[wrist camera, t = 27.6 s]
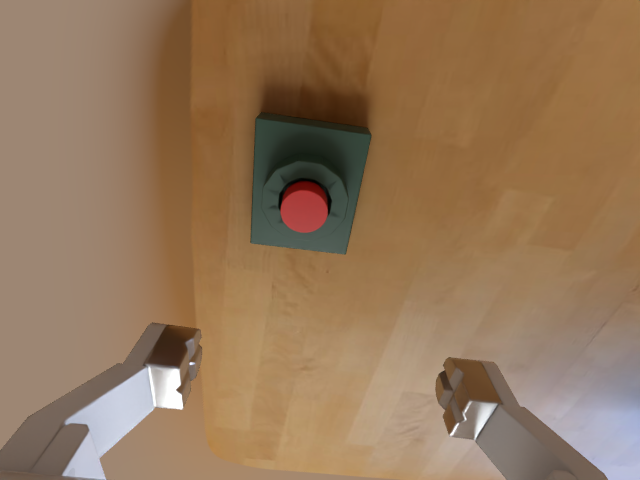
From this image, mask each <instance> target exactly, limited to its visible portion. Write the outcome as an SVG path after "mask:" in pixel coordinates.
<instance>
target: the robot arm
mask: <svg viewBox="0 0 640 480" xmlns="http://www.w3.org/2000/svg"><path fill="white" fill-rule="evenodd" d="M201 338H202V337H201V330H200V329H196V328H189V327H181V326H175V325H166V324H159V323H151V324H150V325H149V326H148V327H147V328H146V330H145V331H144V333H143V334H142V336H141V337H140V339H139V340H138V342H137V343H136V345H135V346H134V348H133V349H132V351H131V352H130V354H129V356H128V357H127V358H126V360H125V361H124V363H123V364H120V363H118V364H116V365H114V366H113V367H111V368H109V369H108V370H106V371H104V372H103V373H101V374H99V375H98V376H96V377H94V378H93V379H91V380H89V381H87V382H86V383H84V384H82V385H81V386H79V387H77V388H76V389H74V390H72V391H71V392H69V393H67V394H66V395H64V396H62V397H61V398H59V399H57V400H56V401H54V402H52V403H51V404H49V405H47V406H46V407H44V408H42V409H41V410H39V411H37V412H36V413H34V414H32V415H30V416H29V417H28V418H27V419H26V420H25V422H23V424H22V425H21V426H20V427H19V429H18V430H17V431H16V432H15V434H14V435H13V436H12V437H11V438H10V439H9V441H8V442H7V443H6V444H5V445H4V447H3V448H2V449H1V450H0V480H106V478H105V475H104V472H103V469H102V466H101V463H100V460H99V458H100V457H101V456H102V455H103V454H105V452H107V451H108V450H109V449H110V448H111V447H112V446H113V445H115V444H116V443H117V442H118V441H119V440H120V439H121V438H122V437H124V436H125V435H126V434H127V433H128V432H129V431H130V430H131V429H132V428H134V427H135V426H136V425H137V424H138V423H139V422H140V421H141V420H142V419H144V418H145V417H146V416H147V415H148V414H149V413H150V412H151V411H153V410H154V407H156V408H170V409H183V408H184V405H185V403H186V401H187V398H188V396H189V393H190V391H191V383H190V381H192V380H193V379H194V378H196V376H197V373H198V371H199V368H200V364H201V359H202V347H201V346H200V345H199V342H200V340H201ZM443 366H444V369H445V370H444V371H443V372H441V373H440V374H439V375H438V377H437V380H436V387H435V390H436V397H437V400H438V403H439V404H440V405H441V406H442V407H443V408H444V409H445V412H444V414H443V419H444V422H445V425H446V428H447V431H448V434H449V437H457V438H465V439H472V440H476V441H475V442H476V443H477V444H478V445H479V447H480V448H481V449H482V450H483V451H484V453H485V454H486V455H487V456H488V458H489V459H490V460H491V461H492V462H493V464H494V465H495V466H496V467H497V469H498V470H499V471H500V472H501V473H502V475H503V476H504V477H505V478H506V479H507V480H608V479H607V477H606V476H605V474H604V473H603V472H601V471H600V470H599V469H598V468H597V467H595V466H594V465H593V464H592V463H591V462H589V461H588V460H587V459H586V458H585V457H583V456H582V455H581V454H580V453H579V452H578V451H576V450H575V449H574V448H573V447H572V446H570V445H569V444H568V443H567V442H566V441H564V440H563V439H562V438H561V437H560V436H558V435H557V434H556V433H555V432H554V431H552V430H551V429H550V428H549V427H548V426H546V425H545V424H544V423H543V422H542V421H541V420H539V419H538V418H537V417H536V416H535V415H533V414H532V413H531V412H530V411H529V410H527V409H526V408H525V407H520V406H519V404H518V402H517V400H516V398H515V397H514V395H513V393H512V391H511V389H510V388H509V386H508V384H507V382H506V380H505V379H504V377H503V375H502V373H501V372H500V370H499V368H498V366H497V365H496V364H495V363H494V362H489V361H479V360H478V361H477V360H470V359H461V358H451V357H449V358H447V359H446V360H445V362H444V364H443Z"/></svg>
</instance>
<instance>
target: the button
mask: <svg viewBox="0 0 640 480" xmlns="http://www.w3.org/2000/svg"><path fill="white" fill-rule="evenodd" d="M280 212H281V217H282V220H283V221H284V223H285V224H286V225H287V226H288V227H289V228H290V229H292V230H294V231H297V232H301V233H308V232H312V231H315V230H317V229H319V228H320V227H321V226H322V225H323V224H324V223H325V221H326V219H327V215H328V206H327V196H326V194H325V192H324V190H323V189H322V188H321V187H320V186H319V185H317V184H316V183H313V182H310V181H299V182H296V183H294V184H292V185H290V186H289V187H288V188H287V190H286V191H285V193H284V196H283V200H282V204H281V209H280Z"/></svg>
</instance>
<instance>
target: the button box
mask: <svg viewBox="0 0 640 480" xmlns="http://www.w3.org/2000/svg"><path fill="white" fill-rule="evenodd" d="M370 140H371V133H370V131H369V130H368V128H365V127H358V126H351V125H345V124H338V123H331V122H324V121H317V120H311V119H304V118H297V117H290V116H283V115H277V114H270V113H263V112H261V113H260V114H259V115H258V116H257V117H256V121H255V145H254V170H253V194H252V218H251V243H252V244H261V245H269V246H278V247H286V248H295V249H303V250H312V251H320V252H329V253H337V254H346V251H347V247H348V242H349V237H350V233H351V228H352V223H353V219H354V214H355V210H356V205H357V200H358V196H359V191H360V186H361V182H362V177H363V173H364V168H365V163H366V159H367V154H368V149H369V145H370ZM299 181H310V182H313V183H316V184H317V185H319V186H320V187H321V188H322V189H323V190H324V192H325V194H326V196H327V206H328V215H327V219H326V221H325V223H324V224H323V225H322V226H321V227H320V228H319V229H317V230H315V231H312V232H308V233H301V232H297V231H294V230H292V229H290V228H289V227H288V226H287V225H286V224H285V223H284V221H283V220H282V217H281V212H280V209H281V204H282V200H283V196H284V193H285V191H286V190H287V188H288V187H289V186H290V185H292V184H294V183H296V182H299Z"/></svg>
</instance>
